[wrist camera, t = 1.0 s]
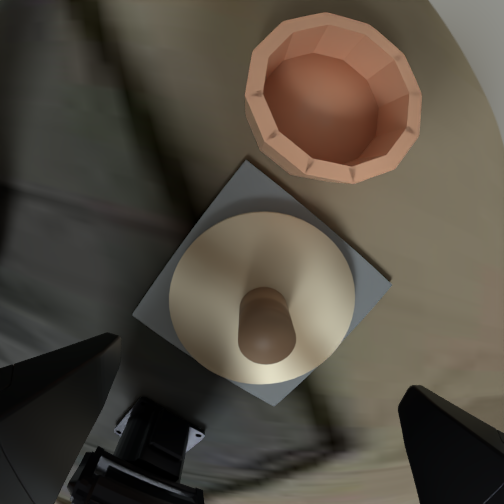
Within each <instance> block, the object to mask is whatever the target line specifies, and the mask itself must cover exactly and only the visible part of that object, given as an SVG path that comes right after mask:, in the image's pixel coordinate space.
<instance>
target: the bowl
mask: <svg viewBox="0 0 504 504" xmlns="http://www.w3.org/2000/svg"><path fill="white" fill-rule="evenodd" d="M421 103H422V94H421V91H420V89H419V86H418V84H417V82H416V79H415V77H414V75H413V72H412V70H411V68H410V66H409V64H408V62H407V59H406V57H405V55H404V54H403V53H402V52H401V51H400V50H399V49H398V48H397V47H396V46H394V45H393V44H392V43H391V42H390V41H389V40H388V39H386V38H385V37H384V36H383V35H382V34H381V33H379V32H378V31H377V30H376V29H375V28H373V27H372V26H371V25H369V24H366V23H363V22H360V21H357V20H353V19H350V18H346V17H343V16H339V15H335V14H331V13H327V12H324V13H318V14H313V15H308V16H303V17H299V18H294V19H290V20H286V21H283V22H282V23H280V24H279V25H278V26H277V27H276V28H275V29H274V30H273V31H272V32H271V33H270V34H269V35H268V36H267V37H266V38H265V39H264V40H263V41H262V42H261V43H260V44H259V45H258V46H257V47H256V48H255V49H254V50H253V51H252V57H251V62H250V68H249V74H248V80H247V85H246V91H245V116H246V118H247V121H248V123H249V125H250V128H251V130H252V133H253V135H254V137H255V140H256V142H257V145H258V147H259V150H260V151H261V152H262V153H264V154H265V155H266V156H267V157H269V158H270V159H271V160H272V161H274V162H275V163H276V164H277V165H279V166H280V167H281V168H282V169H284V170H285V171H286V172H287V173H289V174H290V175H293V176H299V177H304V178H310V179H315V180H321V181H326V182H336V183H348V184H355V183H358V182H360V181H363V180H366V179H369V178H371V177H374V176H377V175H380V174H383V173H385V172H388V171H391V170H394V169H395V168H396V167H397V166H398V164H399V163H400V161H401V160H402V159H403V157H404V156H405V155H406V153H407V152H408V151H409V149H410V148H411V147H412V145H413V144H414V142H415V141H416V140H417V138H418V137H419V130H420V118H421Z"/></svg>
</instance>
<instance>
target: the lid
mask: <svg viewBox="0 0 504 504" xmlns="http://www.w3.org/2000/svg"><path fill="white" fill-rule="evenodd" d="M354 306H355V287H354V282H353V277H352V273H351V271H350V268H349V265H348V263H347V261H346V259H345V257H344V256H343V254H342V252H341V251H340V250H339V248H338V247H337V246H336V245H335V243H334V242H333V241H332V240H331V239H330V238H329V237H328V236H326V235H325V234H324V233H323V232H321V231H320V230H319V229H317V228H316V227H314V226H313V225H311V224H309V223H308V222H306V221H304V220H302V219H299V218H297V217H294V216H291V215H288V214H283V213H279V212H268V211H260V212H249V213H243V214H239V215H236V216H232V217H229V218H227V219H225V220H223V221H220V222H218V223H216V224H215V225H213V226H212V227H210V228H209V229H207V230H206V231H204V232H203V233H202V234H201V235H200V236H199V237H198V238H196V240H195V241H194V242H193V243H192V244H191V245H190V247H189V248H188V249H187V250H186V251H185V253H184V254H183V256H182V258H181V259H180V261H179V263H178V265H177V267H176V269H175V271H174V274H173V278H172V281H171V285H170V292H169V309H170V315H171V320H172V323H173V326H174V329H175V331H176V334H177V336H178V338H179V340H180V341H181V343H182V344H183V346H184V347H185V349H186V350H187V351H188V352H189V353H190V355H191V356H192V357H193V358H194V359H195V360H196V361H198V362H199V363H200V364H201V365H203V366H204V367H205V368H207V369H208V370H210V371H212V372H213V373H215V374H217V375H219V376H222V377H224V378H227V379H229V380H233V381H237V382H241V383H247V384H273V383H279V382H284V381H287V380H291V379H294V378H296V377H299V376H301V375H304V374H305V373H307V372H309V371H311V370H313V369H314V368H316V367H317V366H319V365H320V364H321V363H323V362H324V361H325V360H326V359H327V358H328V357H329V356H330V355H331V354H332V353H333V352H334V351H335V350H336V348H337V347H338V346H339V344H340V343H341V341H342V340H343V338H344V336H345V335H346V333H347V331H348V329H349V326H350V323H351V320H352V317H353V312H354Z"/></svg>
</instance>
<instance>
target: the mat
mask: <svg viewBox="0 0 504 504" xmlns="http://www.w3.org/2000/svg"><path fill="white" fill-rule="evenodd" d="M260 211H268V212H279V213H283V214H288V215H291V216H294V217H297V218H299V219H302V220H304V221H306V222H308V223H309V224H311V225H313V226H314V227H316V228H317V229H319V230H320V231H321V232H323V233H324V234H325V235H326V236H328V237H329V238H330V239H331V240H332V241H333V242H334V243H335V245H336V246H337V247H338V248H339V250H340V251H341V252H342V254H343V256H344V257H345V259H346V261H347V263H348V265H349V268H350V271H351V273H352V277H353V282H354V287H355V306H354V312H353V317H352V320H351V323H350V326H349V329H348V331H347V333H346V335H345V336H344V338H343V340H344V339H345V338H346V337H347V336H348V335H349V333H350V332H351V331H352V330H353V329H354V328H355V327H356V326H357V325H358V324H359V323H360V322H361V320H362V319H363V318H364V317H365V316H366V315H367V314H368V313H369V311H370V310H371V309H372V308H373V307H374V306H375V305H376V303H377V302H378V301H379V300H380V299H381V298H382V296H383V295H384V294H385V293H386V292H387V291H388V289H389V288H390V287H391V286H392V284H391V283H390V282H389V281H388V280H387V279H386V278H385V277H383V276H382V275H381V274H380V273H379V272H378V271H377V270H376V269H375V268H374V267H373V266H372V265H370V264H369V263H368V262H367V261H366V260H365V259H364V258H363V257H362V256H361V255H359V254H358V253H357V252H356V251H355V250H354V249H353V248H352V247H351V246H349V245H348V244H347V243H346V242H345V241H344V240H343V239H342V238H340V237H339V236H338V235H337V234H336V233H335V232H333V231H332V230H331V229H330V228H329V227H328V226H327V225H325V224H324V223H323V222H322V221H321V220H320V219H318V218H317V217H316V216H315V215H314V214H312V213H311V212H310V211H309V210H308V209H307V208H305V207H304V206H303V205H302V204H301V203H299V202H298V201H297V200H296V199H294V198H293V197H292V196H291V195H290V194H288V193H287V192H286V191H285V190H283V189H282V188H281V187H280V186H279V185H277V184H276V183H275V182H274V181H272V180H271V179H270V178H269V177H267V176H266V175H265V174H263V173H262V172H261V171H260V170H258V169H257V168H256V167H255V166H253V165H252V164H251V163H249V162H248V161H247V160H246V161H245V162H244V163H243V164H242V165H241V167H240V168H239V169H238V170H237V172H236V173H235V174H234V176H233V177H232V178H231V179H230V181H229V182H228V183H227V184H226V186H225V187H224V188H223V189H222V191H221V192H220V193H219V195H218V196H217V197H216V199H215V200H214V201H213V202H212V204H211V205H210V206H209V208H208V209H207V210H206V212H205V213H204V214H203V216H202V217H201V218H200V220H199V221H198V222H197V224H196V225H195V226H194V228H193V229H192V230H191V232H190V233H189V234H188V236H187V237H186V238H185V240H184V241H183V242H182V244H181V245H180V247H179V248H178V249H177V251H176V252H175V253H174V255H173V256H172V258H171V259H170V260H169V262H168V263H167V265H166V266H165V267H164V269H163V270H162V272H161V273H160V275H159V276H158V277H157V279H156V280H155V282H154V283H153V285H152V286H151V287H150V289H149V290H148V292H147V293H146V295H145V296H144V298H143V299H142V301H141V302H140V304H139V305H138V307H137V308H136V309H135V311H134V312H133V314H132V315H133V316H134V317H135V318H137V319H138V320H139V321H141V322H142V323H143V324H145V325H146V326H147V327H149V328H150V329H152V330H153V331H154V332H156V333H157V334H159V335H160V336H161V337H163V338H164V339H166V340H167V341H169V342H170V343H171V344H173V345H174V346H176V347H177V348H179V349H180V350H182V351H183V352H185V353H186V354H188V355H189V356H191V355H190V353H189V352H188V351H187V350H186V349H185V347H184V346H183V344H182V343H181V341H180V340H179V338H178V336H177V334H176V331H175V329H174V326H173V323H172V320H171V315H170V309H169V292H170V285H171V281H172V278H173V274H174V271H175V269H176V267H177V265H178V263H179V261H180V259H181V258H182V256H183V254H184V253H185V251H186V250H187V249H188V248H189V247H190V245H191V244H192V243H193V242H194V241H195V240H196V238H198V237H199V236H200V235H201V234H202V233H203V232H204V231H206V230H207V229H209V228H210V227H212V226H213V225H215V224H216V223H218V222H220V221H223V220H225V219H227V218H229V217H232V216H236V215H239V214H243V213H249V212H260ZM343 340H342V341H343ZM342 341H341V342H342ZM191 357H192V356H191ZM192 358H193V357H192ZM314 369H315V368H314ZM314 369H313V370H314ZM313 370H311V371H309V372H307V373H305V374H304V375H301V376H299V377H296V378H294V379H291V380H287V381H284V382H279V383H273V384H247V383H241V382H237V381H233V380H229V379H227V378H225V379H227V380H229V381H230V382H232V383H234V384H235V385H237V386H239V387H241V388H242V389H244V390H246V391H247V392H249V393H251V394H253V395H254V396H256V397H258V398H260V399H262V400H263V401H265V402H267V403H269V404H271V405H272V406H275V405H276V404H277V403H279V402H280V401H281V400H282V399H283V398H284V397H285V396H286V395H288V394H289V393H290V392H291V391H292V390H293V389H294V388H295V387H296V386H297V385H298V384H299V383H301V382H302V381H303V380H304V379H305V378H306V377H307V376H308V375H309V374H310V373H311V372H312V371H313Z"/></svg>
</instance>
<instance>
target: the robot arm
mask: <svg viewBox="0 0 504 504" xmlns="http://www.w3.org/2000/svg"><path fill="white" fill-rule="evenodd" d="M120 361H121V338H120V336H118V335H115V334H112V333H104V334H101V335H98V336H95V337H92V338H90V339H87V340H84V341H81V342H78V343H75V344H72V345H69V346H66V347H63V348H60V349H58V350H55V351H52V352H49V353H46V354H43V355H40V356H37V357H34V358H31V359H28V360H25V361H21V362H18V363H15V364H14V366H13V365H9V366H6V367H3V368H0V504H54V503H55V501H56V499H57V497H58V494H59V492H60V490H61V488H62V486H63V484H64V482H65V480H66V478H67V476H68V474H69V472H70V470H71V468H72V466H73V464H74V462H75V460H76V458H77V456H78V454H79V452H80V450H81V448H82V446H83V444H84V443H85V441H86V439H87V437H88V435H89V433H90V431H91V429H92V427H93V425H94V424H95V422H96V420H97V418H98V416H99V414H100V412H101V410H102V408H103V406H104V404H105V401H106V399H107V396H108V394H109V391H110V389H111V386H112V384H113V381H114V379H115V376H116V374H117V371H118V369H119V366H120ZM143 402H145V403H143ZM398 413H399V418H400V423H401V428H402V433H403V439H404V444H405V448H406V452H407V456H408V459H409V463H410V466H411V470H412V474H413V478H414V481H415V485H416V489H417V493H418V497H419V501H420V504H504V433H503V432H501V431H499V430H496V429H495V428H494V427H492V426H490V425H488V424H487V423H485V422H483V421H481V420H480V419H478V418H476V417H474V416H473V415H471V414H469V413H467V412H466V411H464V410H462V409H461V408H459V407H457V406H455V405H454V404H452V403H450V402H449V401H447V400H445V399H444V398H442V397H440V396H438V395H437V394H435V393H433V392H432V391H430V390H428V389H427V388H425V387H423V386H421V385H412V386H410V387H409V388H408V389H407V391H406V393H405V395H404V396H403V398H402V400H401V402H400V403H399V406H398ZM114 432H115V433H116V434H117V435H119V436H120V437H121V438H120V440H119V442H118V445H117V447H116V449H115V452H114V454H113V455H112V454H110V453H108V452H107V451H105V450H104V449H103V448H101V447H99V446H98V447H97V449H96V451H95V453H94V452H92V453H91V452H86V453H85V455H84V457H83V459H82V461H81V463H80V465H79V467H78V469H77V470H76V472H75V473H74V475H73V476H72V478H71V480H70V481H69V483H68V486H67V489H68V491H69V493H70V495H71V498H70V501H72V503H71V504H204V497H203V490H201V489H198V488H192V487H189V486H186V485H183V484H180V480H181V474H182V469H183V464H184V459H185V454H186V452H187V451H188V450H189V449H191V448H192V447H193V446H194V445H196V444H197V443H198V442H199V441H201V440H202V439H203V438H204V435H205V432H204V431H203V430H201V429H200V428H198V427H196V426H194V425H192V424H190V423H188V422H187V421H185V420H183V419H181V418H180V417H178V416H176V415H174V414H173V413H171V412H169V411H168V410H166V409H164V408H163V407H161V406H159V405H158V404H156V403H154V402H153V401H151V400H150V399H148V398H146V397H140V398H139V399H138V401H137V402H136V403H135V404H134V405H133V407H132V408H131V409H130V410H129V411H128V412H127V414H126V415H125V416H124V417H123V418H122V420H121V421H120V422H119V423H118V424H117V426H116V427H115V429H114Z"/></svg>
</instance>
